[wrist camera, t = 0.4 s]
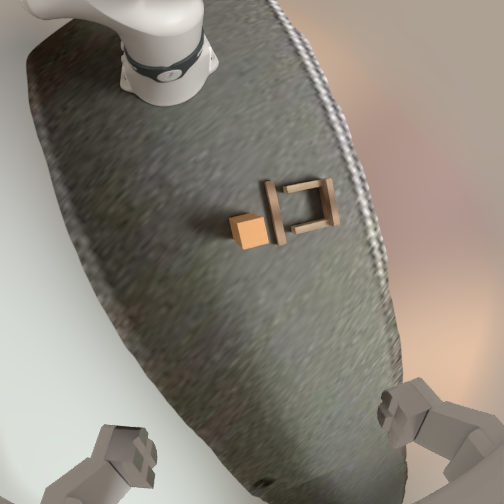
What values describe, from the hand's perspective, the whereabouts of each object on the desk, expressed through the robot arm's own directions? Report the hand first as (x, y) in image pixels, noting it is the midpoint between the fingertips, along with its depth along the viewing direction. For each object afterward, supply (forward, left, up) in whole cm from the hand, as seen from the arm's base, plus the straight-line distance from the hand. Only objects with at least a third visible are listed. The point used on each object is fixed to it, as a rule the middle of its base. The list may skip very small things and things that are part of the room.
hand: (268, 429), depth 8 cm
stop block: (0, +7, -45) cm, 45 cm away
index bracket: (-1, +20, -44) cm, 49 cm away
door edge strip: (-1, +13, -44) cm, 46 cm away
